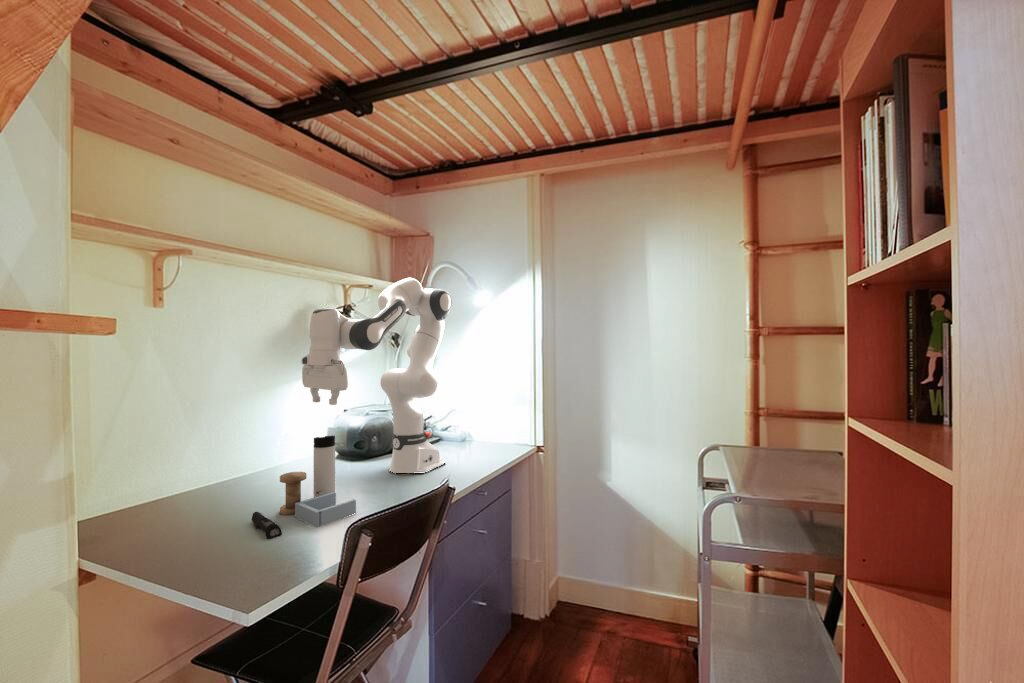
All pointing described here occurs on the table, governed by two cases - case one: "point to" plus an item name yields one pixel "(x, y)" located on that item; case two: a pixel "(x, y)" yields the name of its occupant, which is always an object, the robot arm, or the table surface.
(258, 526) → the electric trimmer
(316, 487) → the travel mug
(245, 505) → the table surface
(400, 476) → the table surface
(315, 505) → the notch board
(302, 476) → the bobbin
